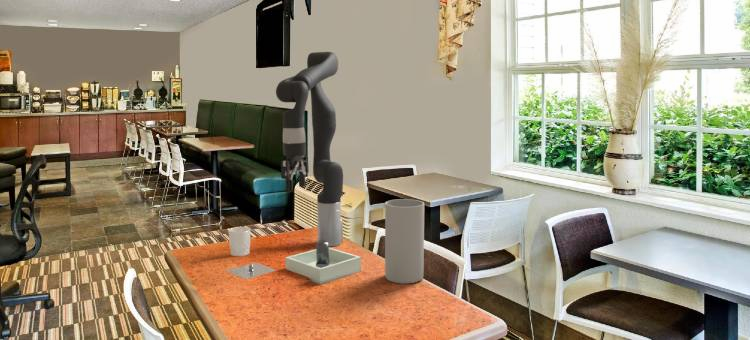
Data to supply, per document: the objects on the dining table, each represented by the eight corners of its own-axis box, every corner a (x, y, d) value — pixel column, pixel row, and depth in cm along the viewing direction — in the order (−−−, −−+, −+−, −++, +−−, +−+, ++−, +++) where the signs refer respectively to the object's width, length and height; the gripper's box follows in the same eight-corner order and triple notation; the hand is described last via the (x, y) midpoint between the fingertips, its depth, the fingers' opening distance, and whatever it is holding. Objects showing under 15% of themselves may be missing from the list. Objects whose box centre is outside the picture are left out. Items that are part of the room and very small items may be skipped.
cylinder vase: (412, 287, 167) (412, 208, 164) (377, 280, 174) (377, 204, 170) (429, 275, 178) (430, 201, 174) (396, 269, 184) (397, 197, 181)
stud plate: (256, 265, 188) (256, 256, 188) (276, 273, 180) (276, 264, 180) (225, 273, 180) (225, 264, 179) (245, 282, 172) (245, 272, 171)
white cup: (225, 257, 198) (223, 231, 196) (238, 251, 205) (237, 226, 203) (242, 260, 194) (241, 233, 193) (255, 254, 202) (254, 228, 200)
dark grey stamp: (317, 266, 184) (316, 240, 183) (329, 266, 184) (329, 240, 183) (315, 270, 180) (315, 243, 179) (328, 270, 180) (328, 243, 179)
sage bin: (325, 259, 195) (325, 246, 194) (361, 271, 182) (360, 256, 182) (285, 271, 182) (285, 257, 181) (320, 284, 169) (320, 269, 169)
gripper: (295, 138, 188) (296, 184, 191) (273, 143, 175) (275, 191, 178) (314, 139, 186) (315, 185, 188) (293, 143, 173) (294, 193, 175)
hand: (295, 188), depth 183 cm, fingers open, 8 cm apart
